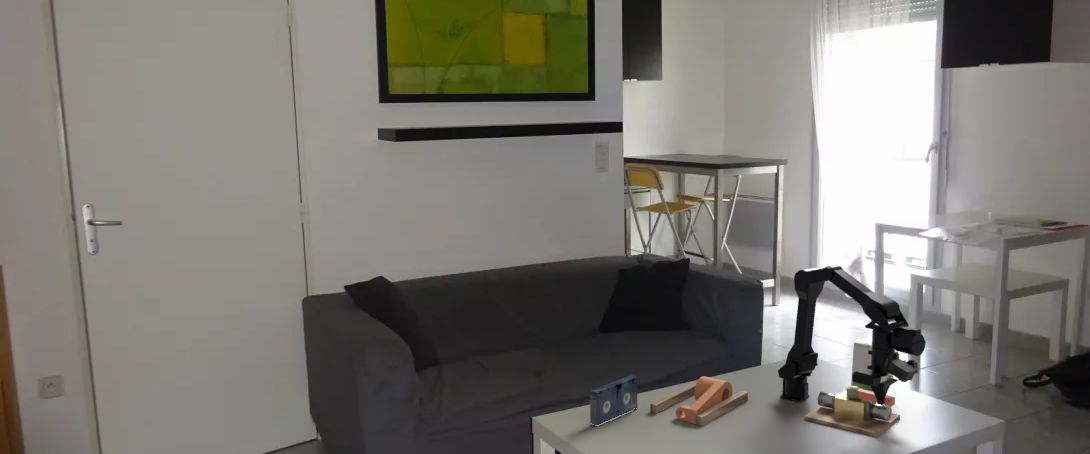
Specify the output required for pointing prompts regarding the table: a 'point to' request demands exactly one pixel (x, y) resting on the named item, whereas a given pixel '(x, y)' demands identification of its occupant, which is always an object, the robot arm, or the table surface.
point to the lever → (867, 395)
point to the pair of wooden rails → (705, 415)
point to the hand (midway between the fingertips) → (880, 404)
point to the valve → (854, 407)
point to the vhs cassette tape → (613, 400)
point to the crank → (705, 397)
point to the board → (851, 422)
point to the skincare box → (861, 359)
